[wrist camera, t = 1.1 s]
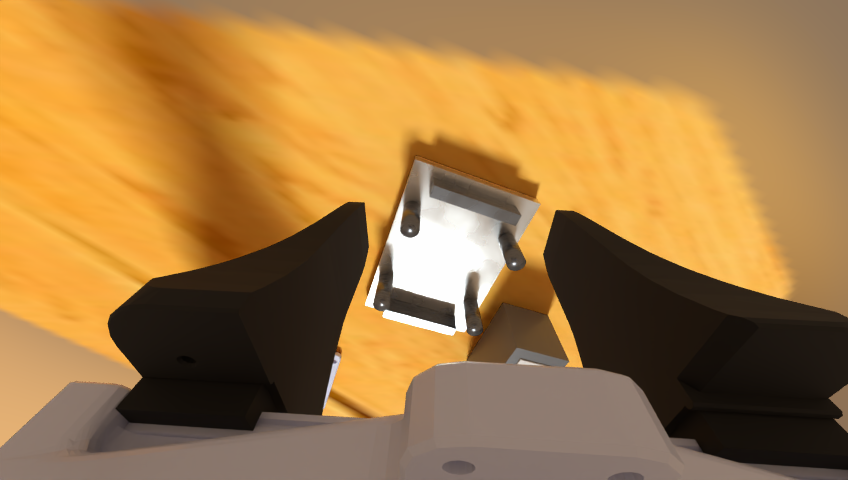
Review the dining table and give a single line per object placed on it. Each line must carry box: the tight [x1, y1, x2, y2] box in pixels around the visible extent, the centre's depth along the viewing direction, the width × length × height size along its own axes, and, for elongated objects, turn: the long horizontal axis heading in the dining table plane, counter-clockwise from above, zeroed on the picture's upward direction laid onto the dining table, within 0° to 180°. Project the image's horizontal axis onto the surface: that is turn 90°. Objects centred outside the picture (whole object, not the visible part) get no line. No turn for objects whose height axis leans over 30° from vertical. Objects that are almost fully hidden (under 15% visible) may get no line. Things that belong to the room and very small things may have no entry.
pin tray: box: [365, 155, 540, 336], centre depth 23 cm, size 13×9×4 cm
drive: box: [467, 303, 569, 367], centre depth 27 cm, size 8×4×5 cm, turn 161°
